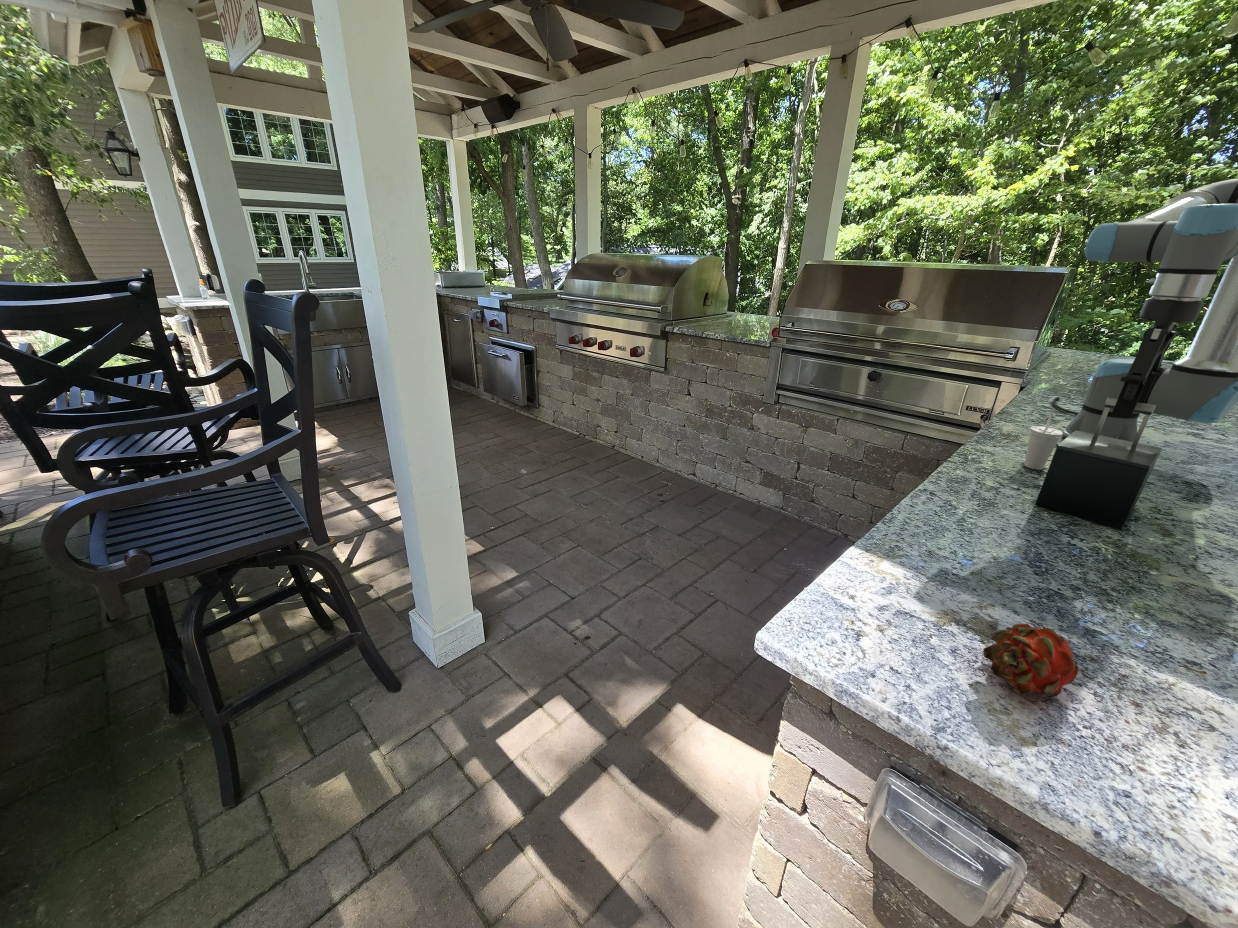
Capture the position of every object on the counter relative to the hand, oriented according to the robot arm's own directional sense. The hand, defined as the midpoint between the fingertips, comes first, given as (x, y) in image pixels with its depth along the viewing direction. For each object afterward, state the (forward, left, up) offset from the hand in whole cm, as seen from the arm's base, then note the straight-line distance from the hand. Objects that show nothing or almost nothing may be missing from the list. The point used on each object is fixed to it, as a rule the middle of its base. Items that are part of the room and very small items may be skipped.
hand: (1127, 409), depth 100 cm
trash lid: (+5, 0, -8) cm, 9 cm away
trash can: (+5, 0, -21) cm, 21 cm away
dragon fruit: (+70, +6, -21) cm, 74 cm away
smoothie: (-13, -13, -21) cm, 27 cm away
